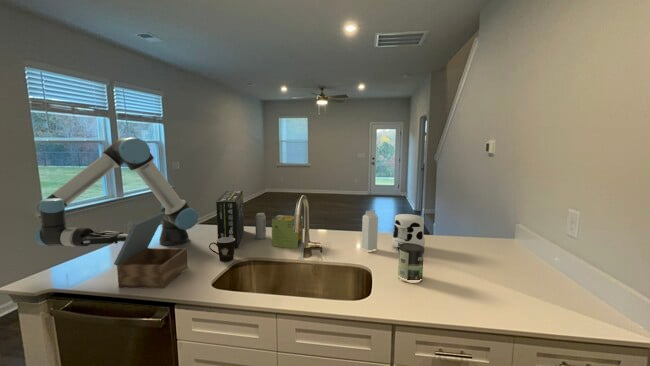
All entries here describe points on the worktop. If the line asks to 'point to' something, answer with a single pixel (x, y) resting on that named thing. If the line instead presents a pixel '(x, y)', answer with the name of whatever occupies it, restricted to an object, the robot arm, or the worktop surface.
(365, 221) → the milk
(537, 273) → the worktop surface
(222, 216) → the router box
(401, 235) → the milk container
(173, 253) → the walnut box
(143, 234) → the lid
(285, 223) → the protein box
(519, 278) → the worktop surface
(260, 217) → the energy drink can
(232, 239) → the coffee mug
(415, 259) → the coffee can
